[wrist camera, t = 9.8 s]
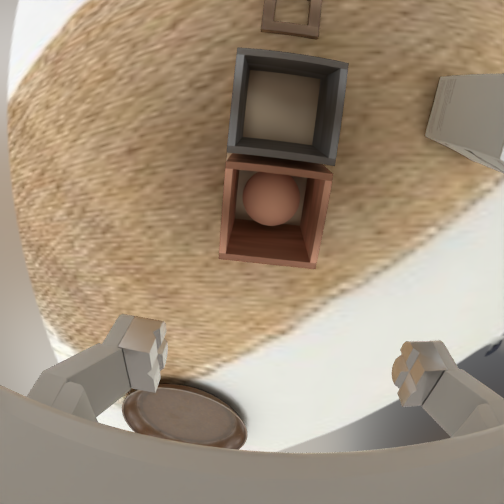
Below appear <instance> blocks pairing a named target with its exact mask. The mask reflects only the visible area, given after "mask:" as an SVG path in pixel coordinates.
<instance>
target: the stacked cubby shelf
mask: <svg viewBox="0 0 504 504" xmlns="http://www.w3.org/2000/svg"><path fill="white" fill-rule="evenodd" d="M348 64H349V63H345V62H340V61H336V60H331V59H325V58H320V57H314V56H308V55H302V54H295V53H288V52H280V51H271V50H262V49H251V48H237V56H236V65H235V74H234V83H233V93H232V103H231V113H230V123H229V133H228V144H227V157H226V167H225V179H224V192H223V205H222V218H221V232H220V247H219V259H225V260H234V261H243V262H252V263H261V264H271V265H280V266H290V267H299V268H309V269H315V268H316V263H317V259H318V254H319V249H320V244H321V239H322V234H323V229H324V224H325V218H326V213H327V208H328V202H329V197H330V191H331V185H332V179H333V174H332V173H331V172H330V171H329V170H328V169H327V168H326V167H325V166H324V165H323V164H325V165H331V166H335V161H336V155H337V148H338V142H339V135H340V128H341V121H342V114H343V106H344V98H345V90H346V82H347V73H348ZM257 172H266V173H275V174H283V175H290V176H291V177H292V178H293V179H294V181H295V182H296V184H297V186H298V189H299V193H300V203H299V207H298V209H297V211H296V213H295V214H294V216H293V217H292V218H291V219H290V220H288V221H287V222H285V223H283V224H280V225H276V226H267V225H263V224H260V223H258V222H256V221H254V220H253V219H252V218H251V217H250V216H249V215H248V213H247V212H246V210H245V207H244V204H243V190H244V187H245V185H246V183H247V181H248V180H249V179H250V178H251V177H252V176H253V175H254V174H255V173H257Z"/></svg>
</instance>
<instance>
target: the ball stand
mask: <svg viewBox="0 0 504 504" xmlns="http://www.w3.org/2000/svg"><path fill="white" fill-rule="evenodd" d="M309 1H310V5H309V16H308V25H301V24H294V23H286V22H278V21H273V20H274V11H275V3H276V0H265V1H264V10H263V18H262V26H261V32H269V33H278V34H286V35H294V36H301V37H307V38H313V39H317V38H318V37H319V27H320V16H321V5H322V0H309Z"/></svg>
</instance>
